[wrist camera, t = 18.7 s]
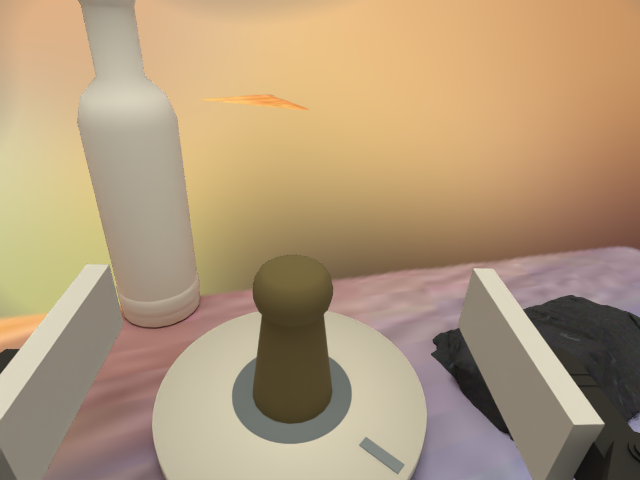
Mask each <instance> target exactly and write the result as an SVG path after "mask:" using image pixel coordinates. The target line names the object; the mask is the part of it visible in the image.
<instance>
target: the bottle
mask: <svg viewBox="0 0 640 480" xmlns="http://www.w3.org/2000/svg"><path fill="white" fill-rule="evenodd" d="M78 1H79V3H80V4H81V8H82V12H83V17H84V22H85V26H86V31H87V36H88V41H89V45H90V50H91V55H92V59H93V64H94V69H95V74H96V77H95V78H94V79H93V81H92V82H91V83H90V84H89V86H88V87H87V89H85V91H84V92H83V93H82V94H81V96H80V102H79V108H78V121H77V123H78V127H79V131H80V135H81V140H82V143H83V147H84V152H85V156H86V160H87V164H88V168H89V173H90V176H91V181H92V185H93V189H94V193H95V197H96V201H97V205H98V210H99V213H100V217H101V222H102V226H103V230H104V234H105V238H106V242H107V247H108V250H109V255H110V259H111V263H112V267H113V271H114V275H115V280H116V284H117V292H118V297H119V300H120V304H121V307H122V308H123V312H124V316H125V318H126V319H127V320H128V321H130V322H131V323H132V324H135V325H139V326H142V327H162V326H167V325H172V324H174V323H176V322H179V321H181V320H183V319H185V318H186V317H187V316H189V315H190V314H192V313H193V312H194V311H195V309H196V308H197V306H198V305H199V301H200V292H199V277H198V273H197V269H196V261H195V253H194V247H193V238H192V231H191V223H190V214H189V207H188V199H187V191H186V183H185V176H184V168H183V161H182V153H181V145H180V137H179V129H178V122H177V116H176V114H175V112H174V110H173V107H172V105H171V103H170V101H169V99H168V97H167V95H166V94H165V93H164V92H163V91H162V90H161V89H160V88H159V87H158V86H156V85H155V84H154V83H153V82H152V81H151V80H149V79H148V78H147V77H146V76H145V73H144V67H143V61H142V54H141V48H140V42H139V36H138V30H137V23H136V16H135V11H134V4H135V0H78Z"/></svg>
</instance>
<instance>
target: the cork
mask: <svg viewBox="0 0 640 480" xmlns="http://www.w3.org/2000/svg"><path fill="white" fill-rule="evenodd" d="M332 296H333V285H332V281H331V276H330V274H329V272H328V271H327V269H326V268H325V267H324V266H323V264H322V263H320V262H318V261H317V260H315V259H312V258H309V257H306V256H301V255H286V256H280V257H277V258H274V259H271V260H269V261H267V262H266V263H265V264H263V265H262V267H261V268H260V270H259V271H258V272H257V274H256V276H255V278H254V282H253V299H254V302H255V304H256V307H257V309H258V311H259V313H260V314H262V317H261V325H260V333H259V341H258V350H257V358H256V366H255V374H254V382H253V399H254V402H255V405H256V407H257V408H258V409H259V410H260V411H261V412H262V414H263V415H265V416H266V417H268V418H270V419H272V420H274V421H277V422H282V423H286V424H293V423H303V422H305V421H308V420H311V419H314V418H315V417H317V416H318V415H319V414H321V413H322V412H323V411H324V410H325V409H326V407H327V406H328V405H329V403H330V401H331V397H332V392H333V391H332V382H331V374H330V365H329V356H328V347H327V338H326V329H325V321H324V313H325V312H326V311H327V310H328V308H329V305H330V302H331V299H332Z"/></svg>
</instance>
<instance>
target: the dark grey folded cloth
mask: <svg viewBox="0 0 640 480" xmlns="http://www.w3.org/2000/svg"><path fill="white" fill-rule="evenodd" d="M523 311H524V312H525V314H526V315H527V317H528V318H529V319H530V321H531V322H532V324H533V325H534V326H535V328H536V329H537V331H538V332H539V333H540V335H541V336H542V337H543V339H544V340H545V342H546V343H547V344H548V346H549V347H550V348H564V349H565V350H566V351H567V352H569V353H570V354H571V355H573V356H574V357H575V358H577V359H578V360H579V361H580V363H581V364H582V365H583V366H584V368H585V369H586V370H587V372H588V373H589V376H590V377H592V378H593V379H594V381H595V382H596V383H597V385H598V388H601V390H602V391H603V392H604V394H605V395H606V396H607V398H608V399H609V400H610V401H611V403H612V404H613V405H614V407H615V408H616V409H617V410H618V412H619V413H620V414H621V416H622V417H623V418H624V420H625V421H626V422H627V420H630V419H631V418H632V414H635V413H638V412H640V318H639V317H638V316H636V315H634V314H632V313H630V312H627V311H623V310H620V309H617V308H614V307H611V306H608V305H607V306H606V305H600V304H597V303H594V302H592V301H590V300H587V299H585V298H582V297H575V296H573V295H568V296H564V297H560V298H558V299H555V300H551V301H548V302H546V303H544V304H542V305H536V306H533V307H528V308H526V309H523ZM433 342H434V344H435V345H437V350H436V351H434V352H433V353H431V355H432V356H433V357H434V358H435V359H436V360H438V361H439V362H440V363H441V364H442V365H443V367H444V368H445V369H446V370H447V371H448V372H449V373H450V374H451V375H452V376H453V377H454V378H455V379H456V380H457V382H458V384H459V386H460V389H461V391H462V393H463V394H464V395H465V396H466V397H467V398H468V399H469V400H470V401H471V402H472V404H473V405H474V406H475V407H476V408H478V409H479V410H480V411H481V412H482V413H483V414H484V415H485V416H486V417H487V418H488V419H489V420H490V421H491V422H492V423H493V424H494V425H495V426H496V427H497V428H498V429H499V430H500V431H502V432H504V433H508V434H510V435H511V433H510V431H509V429H508V427H507V425H506V423H505V421H504V419H503V417H502V415H501V413H500V411H499V409H498V407H497V405H496V403H495V401H494V399H493V397H492V395H491V393H490V390H489V388H488V386H487V384H486V382H485V380H484V378H483V376H482V374H481V372H480V370H479V368H478V366H477V364H476V362H475V360H474V358H473V356H472V354H471V352H470V349H469V347H468V345H467V343H466V341H465V339H464V337H463V335H462V333H461V331H460V329H459V328H458V329H456V330H449V331H447V332H445V333H440V334H439V335H437V336H436V337H435V338H434V339H433ZM511 437H512V436H511ZM512 439H513V438H512Z"/></svg>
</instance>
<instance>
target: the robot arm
mask: <svg viewBox="0 0 640 480" xmlns="http://www.w3.org/2000/svg"><path fill="white" fill-rule="evenodd" d="M123 325H124V324H123V319H122V315H121V311H120V307H119V303H118V299H117V294H116V290H115V287H114V282H113V278H112V273H111V269H110V265H109V264H87V265H86V266H85V267H84V268H83V270H82V271H81V272H80V274H79V275H78V276H77V278H76V279H75V280H74V281H73V283H72V284H71V285H70V286H69V288H68V289H67V290H66V291H65V293H64V294H63V295H62V297H61V298H60V299H59V300H58V302H57V303H56V304H55V306H54V307H53V308H52V309H51V310H50V312H49V313H48V314H47V316H46V317H45V318H44V319H43V321H42V322H41V323H40V325H39V326H38V327H37V328H36V330H35V331H34V332H33V333H32V335H31V336H30V337H29V339H28V340H27V341H26V342H25V344H24V345H23V346H22V347H21V349H5V350H4V351H3V352H1V353H0V480H42V479H43V477H44V475H45V473H46V471H47V469H48V467H49V465H50V463H51V462H52V460H53V458H54V456H55V454H56V452H57V450H58V448H59V446H60V444H61V443H62V441H63V439H64V437H65V435H66V433H67V431H68V429H69V427H70V426H71V424H72V422H73V420H74V418H75V416H76V414H77V412H78V410H79V408H80V407H81V405H82V403H83V401H84V399H85V397H86V395H87V393H88V391H89V390H90V388H91V386H92V384H93V382H94V380H95V378H96V376H97V374H98V372H99V371H100V369H101V367H102V365H103V363H104V361H105V359H106V357H107V355H108V354H109V352H110V350H111V348H112V346H113V344H114V342H115V340H116V338H117V336H118V335H119V333H120V331H121V329H122V327H123ZM458 327H459V329H460V331H461V333H462V335H463V337H464V339H465V341H466V343H467V345H468V347H469V349H470V352H471V354H472V356H473V358H474V360H475V362H476V364H477V366H478V368H479V370H480V372H481V374H482V376H483V378H484V380H485V382H486V384H487V386H488V388H489V390H490V393H491V395H492V397H493V399H494V401H495V403H496V405H497V407H498V409H499V411H500V413H501V415H502V417H503V419H504V421H505V423H506V425H507V427H508V429H509V431H510V433H511V436H512V438H513V440H514V442H515V444H516V446H517V448H518V450H519V452H520V454H521V456H522V458H523V460H524V462H525V464H526V466H527V468H528V470H529V472H530V474H531V477H532V479H533V480H573V479H574V478H575V480H640V433H638V432H634V431H633V430H632V429H631V427H630V426H629V425H628V423H627V422H626V421H625V420H624V418H623V417H622V416H621V414H620V413H619V412H618V410H617V409H616V408H615V407H614V405H613V404H612V403H611V401H610V400H609V399H608V398H607V396H606V395H605V394H604V392H603V391H602V390H601V388H598V385H597V383H596V382H595V381H594V379H593V378H592V377H590V376H589V373H588V372H587V370H586V369H585V368H584V366H583V365H582V364H581V363H580V361H579V360H578V359H577V358H575V357H574V356H573V355H571V354H570V353H569V352H567V351H566V350H565V349H564V348H550V347H549V346H548V344H547V343H546V342H545V340H544V339H543V337H542V336H541V335H540V333H539V332H538V331H537V329H536V328H535V326H534V325H533V324H532V322H531V321H530V319H529V318H528V317H527V315H526V314H525V312H524V311H523V310H522V308H521V307H520V305H519V304H518V303H517V301H516V300H515V299H514V297H513V296H512V294H511V293H510V292H509V290H508V289H507V287H506V286H505V285H504V283H503V282H502V280H501V279H500V278H499V276H498V275H497V273H496V272H495V271H494V269H473V271H472V274H471V278H470V282H469V286H468V289H467V293H466V297H465V301H464V304H463V308H462V312H461V316H460V319H459V323H458Z"/></svg>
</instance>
